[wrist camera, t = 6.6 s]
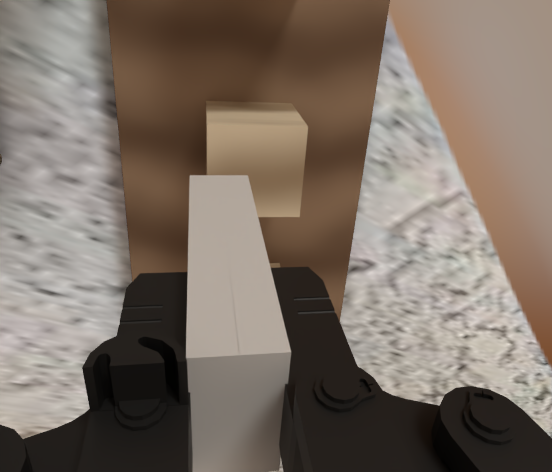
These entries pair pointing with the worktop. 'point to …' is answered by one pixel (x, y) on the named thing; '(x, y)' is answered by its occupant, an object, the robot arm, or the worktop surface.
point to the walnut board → (244, 88)
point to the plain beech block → (259, 151)
